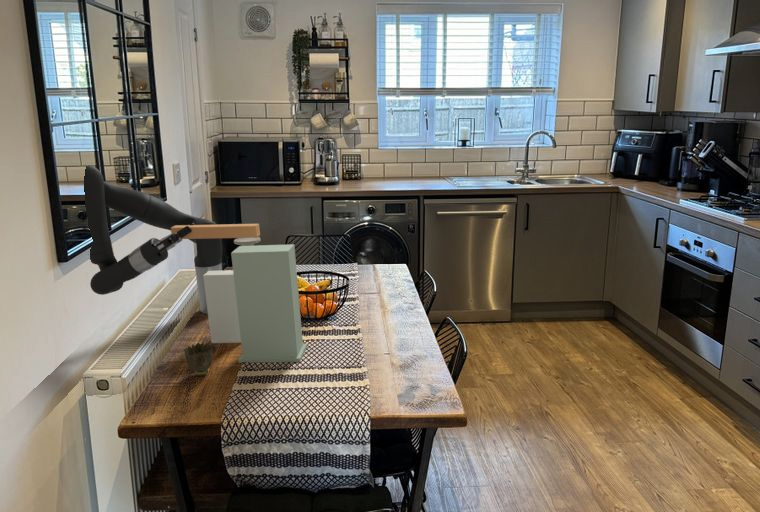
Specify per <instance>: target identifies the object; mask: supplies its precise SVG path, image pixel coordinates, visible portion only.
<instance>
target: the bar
mask: <svg viewBox="0 0 760 512" xmlns="http://www.w3.org/2000/svg"><path fill="white" fill-rule="evenodd" d="M186 226H189V227H190V228H191V230H192V232H190V233H189V234H187V235H186V236H184V237H183V238H182V237H181V238H182V240H189V239H208V238H221V239H237V238H257V237H260V236H261V231H260V230H261V229H260V223H237V224H236V223H232V224H231V223H230V224H229V223H228V224H227V223H226V224H224V223H223V224H217V225H175V226H173V227H171V230H170V232H171V233H170V234H174V233H175V232H178V231H180V230H181V229H183V228H184V227H186Z"/></svg>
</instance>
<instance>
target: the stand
mask: <svg viewBox="0 0 760 512" xmlns="http://www.w3.org/2000/svg"><path fill="white" fill-rule="evenodd" d="M295 247H296V246H295V244H294V243H293V244H292V243H291V244H290V243H289V244H265V245H263V244H262V245H261V244H260V245H259V244H258V245H254V246H241V245H239V246H237V247H236V248H235V249H234V250H233V251H232V252H231V253H230V256H231V263H232V270H233V274H234V283H235V292H236V301H237V310H238V319H239V328H240V337H241V343H240V344H241V352H242V353H241V355H240V356H239V357H238V358H237V363H238V364H239V363H242V362H250V363H288V362H289V363H298V362H301V361H302V359H303V357H304V354H305V352H306V350H307V348H308V343H303V341H304V339H303V331H302V330H303V329H302V319H301V308H300V294H299V284H298V283H299V282H298V274H297V273H298V272H297V259H296V250H295V249H296V248H295ZM242 364H243V363H242Z"/></svg>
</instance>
